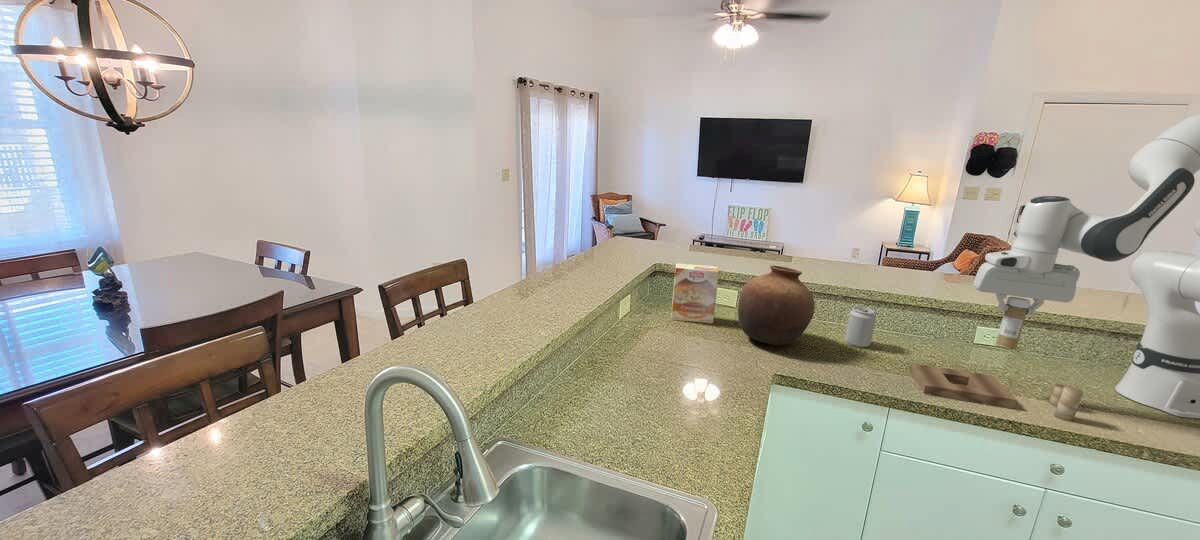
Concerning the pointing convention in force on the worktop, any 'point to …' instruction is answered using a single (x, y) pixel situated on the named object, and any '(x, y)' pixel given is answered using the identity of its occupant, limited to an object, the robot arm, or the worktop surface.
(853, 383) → the worktop surface
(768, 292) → the pottery
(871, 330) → the can
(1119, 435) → the worktop surface
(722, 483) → the worktop surface
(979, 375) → the walnut board
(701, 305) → the coffeecake box
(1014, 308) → the sprinkles bottle
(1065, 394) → the medium beech dowel
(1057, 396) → the short beech dowel
